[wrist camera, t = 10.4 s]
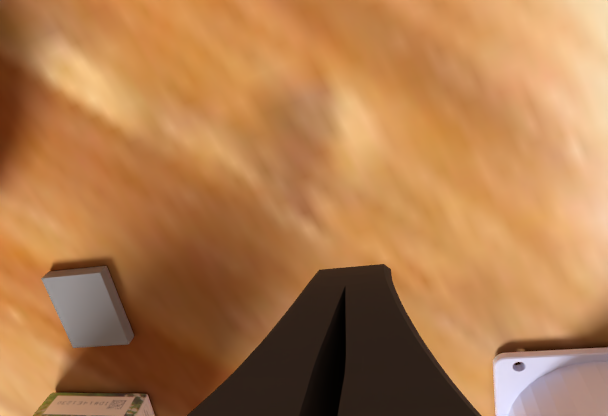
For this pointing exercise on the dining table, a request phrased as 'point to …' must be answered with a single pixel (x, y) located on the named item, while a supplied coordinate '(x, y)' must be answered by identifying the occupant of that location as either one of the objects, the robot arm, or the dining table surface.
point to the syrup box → (96, 404)
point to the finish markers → (88, 307)
